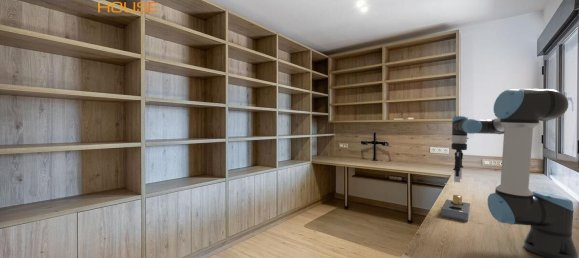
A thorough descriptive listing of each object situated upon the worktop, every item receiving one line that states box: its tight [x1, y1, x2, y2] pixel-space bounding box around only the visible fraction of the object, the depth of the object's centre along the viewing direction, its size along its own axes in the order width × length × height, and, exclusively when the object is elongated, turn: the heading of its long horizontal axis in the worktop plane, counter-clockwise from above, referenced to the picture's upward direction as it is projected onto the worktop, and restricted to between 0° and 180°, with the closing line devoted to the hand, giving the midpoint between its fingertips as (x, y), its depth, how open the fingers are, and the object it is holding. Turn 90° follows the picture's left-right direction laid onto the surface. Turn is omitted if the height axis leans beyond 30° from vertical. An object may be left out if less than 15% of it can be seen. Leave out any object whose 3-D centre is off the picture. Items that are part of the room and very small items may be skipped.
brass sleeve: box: [452, 194, 463, 205], centre depth 151 cm, size 4×4×9 cm
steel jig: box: [440, 199, 471, 223], centre depth 147 cm, size 22×12×4 cm, turn 143°
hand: (457, 180), depth 151 cm, fingers open, 11 cm apart
